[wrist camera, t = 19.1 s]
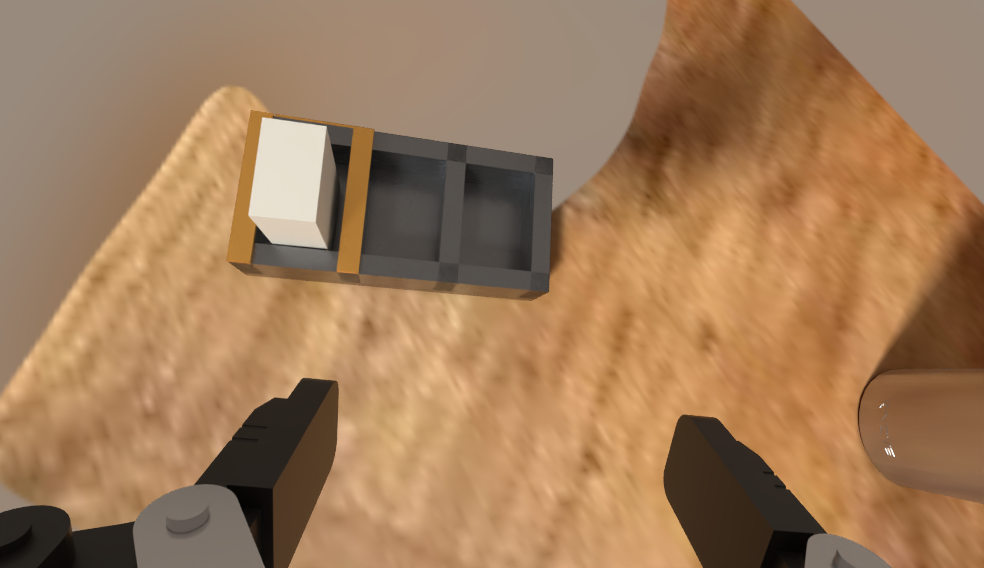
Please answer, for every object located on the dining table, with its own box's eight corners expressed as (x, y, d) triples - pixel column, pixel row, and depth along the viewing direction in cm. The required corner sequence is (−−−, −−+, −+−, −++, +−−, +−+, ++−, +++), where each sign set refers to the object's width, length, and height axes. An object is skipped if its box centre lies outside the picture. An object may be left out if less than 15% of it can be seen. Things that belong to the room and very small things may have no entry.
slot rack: (536, 176, 36) (554, 152, 32) (531, 300, 34) (550, 291, 30) (267, 138, 32) (251, 105, 29) (246, 275, 31) (226, 260, 27)
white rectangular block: (340, 185, 32) (326, 126, 24) (332, 259, 31) (315, 222, 23) (291, 179, 32) (262, 117, 24) (282, 255, 31) (248, 215, 23)
